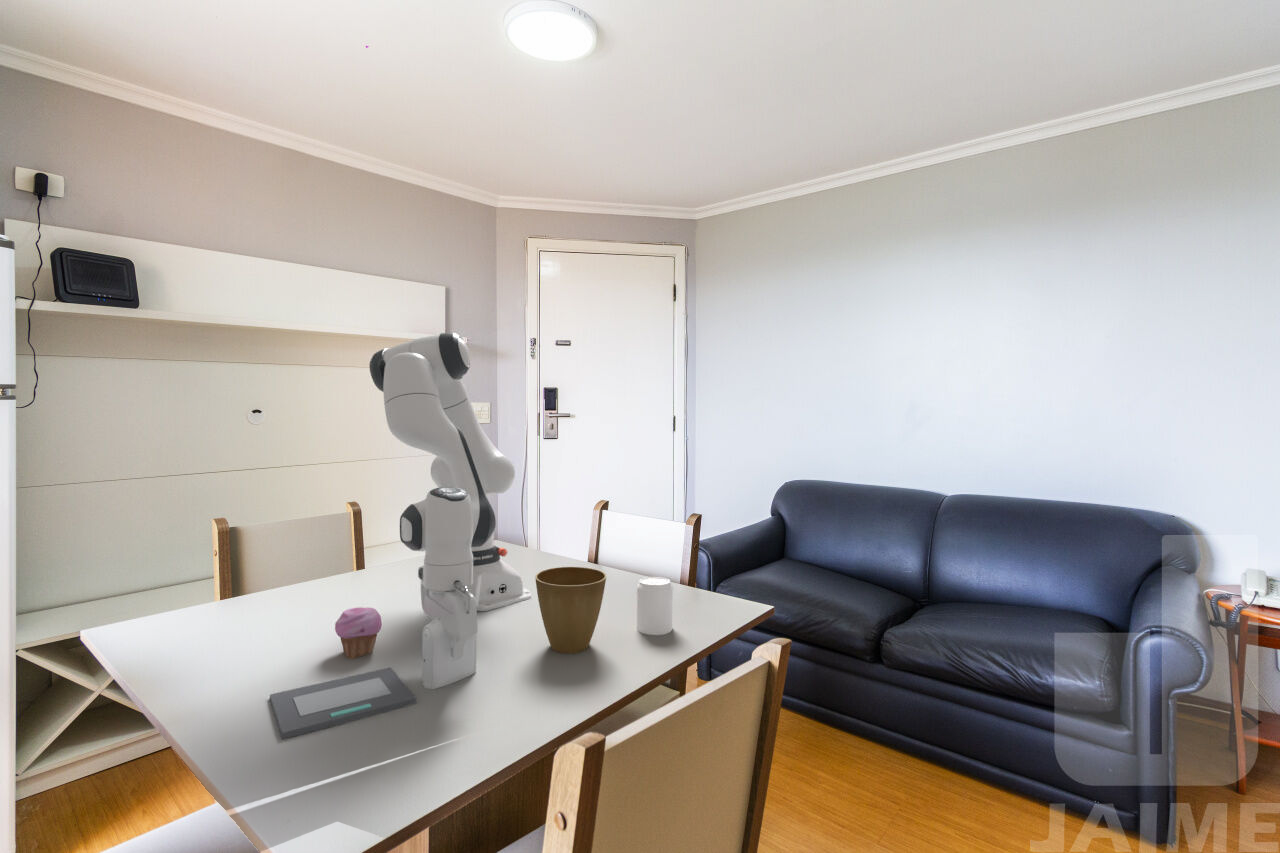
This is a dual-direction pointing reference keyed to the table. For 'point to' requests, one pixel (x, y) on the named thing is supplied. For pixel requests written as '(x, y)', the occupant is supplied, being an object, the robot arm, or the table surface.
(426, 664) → the photo printer
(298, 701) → the charging mat
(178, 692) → the table surface
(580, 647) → the plant pot
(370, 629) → the cupcake
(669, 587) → the beverage can
